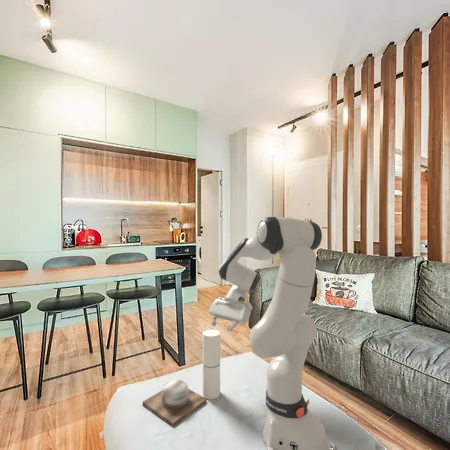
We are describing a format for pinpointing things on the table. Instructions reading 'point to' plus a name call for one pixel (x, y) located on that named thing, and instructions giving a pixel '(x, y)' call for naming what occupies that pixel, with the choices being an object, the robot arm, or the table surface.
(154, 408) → the base
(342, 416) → the table surface
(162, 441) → the table surface
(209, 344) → the cylindrical container
